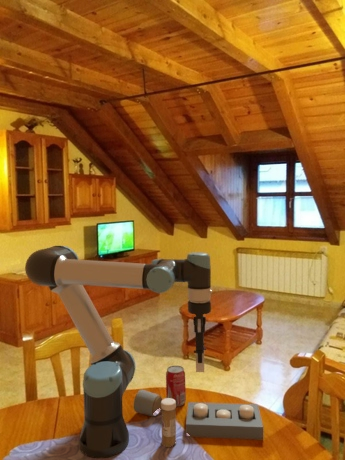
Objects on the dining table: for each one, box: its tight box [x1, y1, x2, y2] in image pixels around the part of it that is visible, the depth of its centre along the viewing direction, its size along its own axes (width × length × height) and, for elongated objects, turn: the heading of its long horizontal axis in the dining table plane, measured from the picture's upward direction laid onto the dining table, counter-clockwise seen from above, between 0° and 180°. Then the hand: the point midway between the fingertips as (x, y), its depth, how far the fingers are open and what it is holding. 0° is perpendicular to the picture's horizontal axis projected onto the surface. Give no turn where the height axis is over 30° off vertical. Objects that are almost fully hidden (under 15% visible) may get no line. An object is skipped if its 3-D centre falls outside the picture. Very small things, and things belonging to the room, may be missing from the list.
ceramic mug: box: [133, 389, 163, 417], centre depth 139 cm, size 11×8×8 cm
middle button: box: [216, 410, 231, 419], centre depth 130 cm, size 5×5×3 cm
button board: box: [185, 401, 264, 440], centre depth 130 cm, size 24×14×4 cm, turn 85°
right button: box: [239, 405, 254, 419], centre depth 129 cm, size 5×5×3 cm
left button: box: [194, 402, 208, 418], centre depth 130 cm, size 5×5×3 cm
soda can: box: [165, 365, 187, 408], centre depth 145 cm, size 7×7×13 cm
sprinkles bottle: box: [161, 397, 177, 448], centre depth 120 cm, size 5×5×14 cm
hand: (200, 370), depth 129 cm, fingers closed
